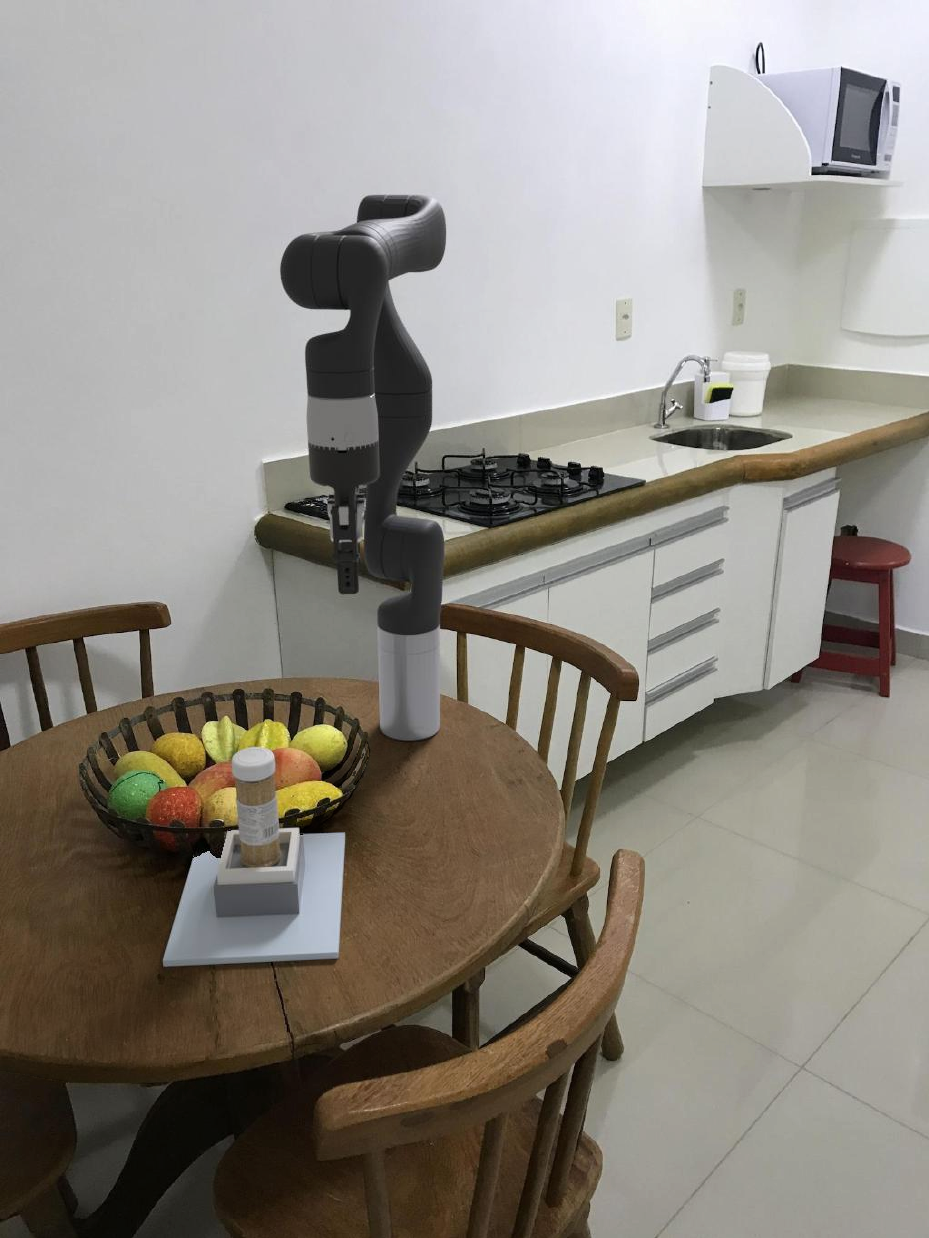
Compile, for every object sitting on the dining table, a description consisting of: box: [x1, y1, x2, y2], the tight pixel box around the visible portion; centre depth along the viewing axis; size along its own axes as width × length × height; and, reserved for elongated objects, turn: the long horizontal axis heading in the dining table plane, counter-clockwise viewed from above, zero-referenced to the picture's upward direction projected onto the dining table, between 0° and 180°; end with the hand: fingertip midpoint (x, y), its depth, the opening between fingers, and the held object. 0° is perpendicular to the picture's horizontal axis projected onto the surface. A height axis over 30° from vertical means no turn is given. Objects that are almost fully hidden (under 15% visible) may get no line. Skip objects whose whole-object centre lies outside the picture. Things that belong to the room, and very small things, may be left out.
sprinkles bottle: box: [231, 746, 281, 868], centre depth 108 cm, size 5×5×14 cm
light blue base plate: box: [162, 827, 346, 968], centre depth 111 cm, size 22×18×6 cm
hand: (350, 579), depth 110 cm, fingers open, 8 cm apart
